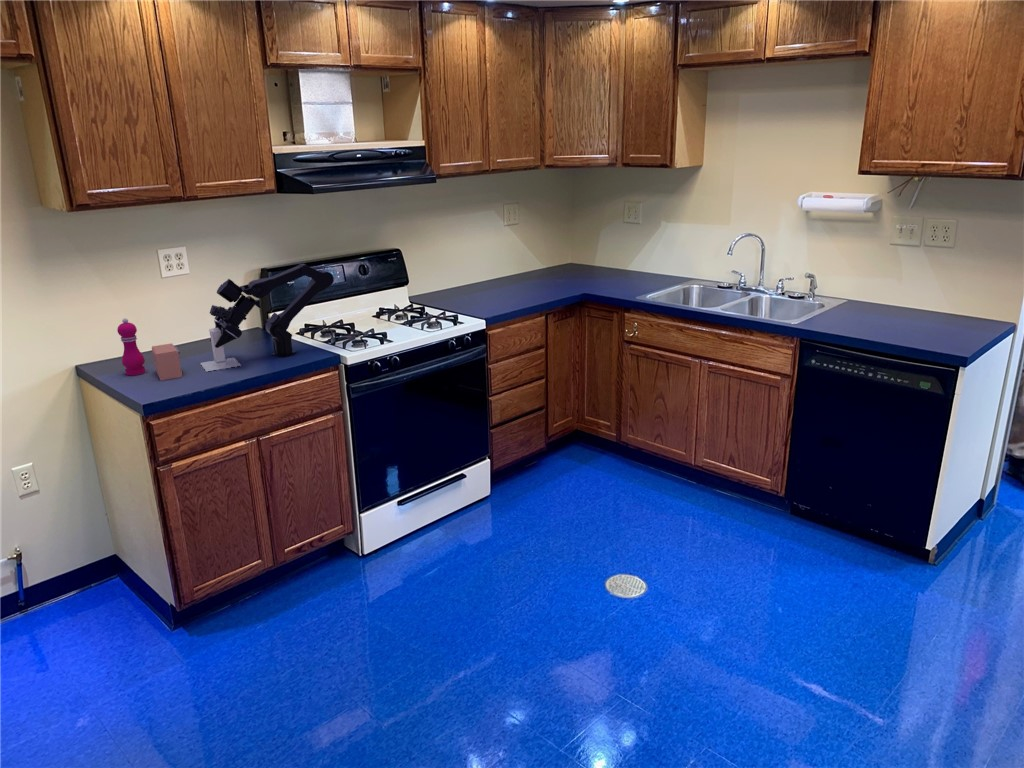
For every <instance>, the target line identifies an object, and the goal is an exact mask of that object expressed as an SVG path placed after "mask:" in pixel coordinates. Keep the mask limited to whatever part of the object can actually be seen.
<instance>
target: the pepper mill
mask: <svg viewBox="0 0 1024 768" xmlns="http://www.w3.org/2000/svg"><path fill="white" fill-rule="evenodd" d="M137 331H138V329H137V327H136V325H135V324H134V323H133V322H129V319H128V318H122V323H120V324H118V326H117V331H116V332H117V333H118V335H119V336H120V342H122V343H123V344H122V345H123V354H122V357H121V365H122V366H123V367H125V369H124V370H125V375H126V376H129V377H130V376H131V377H132V376H138V375H142V373H143V374H145V373H146V368H145V366H144V364H145V360H146V359H145V357H144V355H143V353H142V352H141V351H140V349H139V347H138V345H137V340H138V338H137Z"/></svg>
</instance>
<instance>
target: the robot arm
mask: <svg viewBox="0 0 1024 768" xmlns="http://www.w3.org/2000/svg"><path fill="white" fill-rule="evenodd" d="M302 277H307V278H310V280H309V283H308V285H307V286H306V288H304V289H303V291H302V292H301V293H299V294H298V296H296V297H295V298H294V300H293V301H291V302H290V304H289V305H288V306H287V307H285V309H284V310H283V311H282V312H279V313H276V312H273V313H272V315H271V316H270V317H269V318H266V321H267V322H265V330H266V332H267V333H268V334H270V335H271V337H272V344H273V353H271V355H272V356H276V357H280V358H281V357H282V358H285V357H288V356H291V355H294V354H296V353H297V351H295V350H293V344H292V337H293V334H292V333H290V332H289V331H288V329H289V327H290V324H291V322H292V321H293V320H294V319H295V317H297V315H298V314H299V313H300V312H301V311H302V310H303V309H304V308H305V307H306V306H307V305H308V304H309V303H310V302H311V301H312V300H313V298H315V297H316V296H317V295H318V294H319V293H321V292H324V291H325V290H327V289H329V288H330V287H331V286H332V285H333V284H334V280H335V278H334V277H335V276H334V275H333V274H332V273H331V272H330V271H328V270H325V269H315V268H313V267H310V266H308V265H307V264H305V263H299V264H298V265H296V266H294V267H292V268H289V269H286V270H284V271H282V272H279V273H277V274H275V275H272V276H269V277H264V278H258V279H253V280H251V281H249V282H248V284H244V285H241V286H239V285H238V284H237V283H235V282H234V281H233V279H232V280H231V278H228V279H227V280H226V281H224V282H223V283H221V284H220V285H219V287H218V288H217V290H216V294H218V296H220V297H222V299H225V301H227V302H229V303H230V304H231V303H234V304H233V305H232V306H229V307H228V308H225V306H218V305H214V304H211V308H210V310H209V314H210V315H211V316H213V317H214V318H213V319H214V321H213V322H214V326H215V327H214V328H219V329H220V330H221V336H220V338H219V339H218V341H217V343H216V345H215V347H216V348H219V347H220V346H222V345H223V346H224V345H226V344H228V343H230V342H233V341H235V340H237V339H240V338H241V336H243V332H242V330H241V329H240V325H241V324H242V322H243V321H246V320H247V319H248V318H247V316H248V314H249V313H251V311H252V309H253V308H254V307H255V306H256V307H257V308H258V309H261V307H262V306H261V300H260V299H262V298H264V297H266V296H268V295H269V294H270V293H271V292H273V291H274V290H275V289H277V288H279V287H281V286H283V285H286V284H287V283H290V282H293V281H295V280H297V279H300V278H302ZM244 294H245V295H244ZM246 295H247V296H246ZM252 296H253V297H252ZM255 298H256V299H255ZM209 341H210V342H211V338H210V340H209Z"/></svg>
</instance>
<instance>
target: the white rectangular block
mask: <svg viewBox="0 0 1024 768" xmlns="http://www.w3.org/2000/svg"><path fill="white" fill-rule="evenodd" d="M208 331H209V335H210V339H211V341H210V343H211V348H212V349H211V350H212V355H213V361H215V364H216V365H217V366H224V365H226V360H225V359H226V356H225V349H224V345H222V346H220V347H219V348H216V347H215V345H216V343H217V341H218V339H219V338H220V336H221V330H220V329H219V328H215V327H214V328H209V329H208Z"/></svg>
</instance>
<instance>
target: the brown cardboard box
mask: <svg viewBox="0 0 1024 768" xmlns="http://www.w3.org/2000/svg"><path fill="white" fill-rule="evenodd" d="M151 352H152V358H153V362H154V367H155V371H156V374H157V376H158V378H159V379H160V381H165V380H171V379H178V378H183V372H182V366H181V360H180V354H181V351H180V350H179V348H178V347H177V346H176V345H174V344H173V343H172V342H171V343H166V344H159V345H154V346H153V345H152V346H151Z"/></svg>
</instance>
